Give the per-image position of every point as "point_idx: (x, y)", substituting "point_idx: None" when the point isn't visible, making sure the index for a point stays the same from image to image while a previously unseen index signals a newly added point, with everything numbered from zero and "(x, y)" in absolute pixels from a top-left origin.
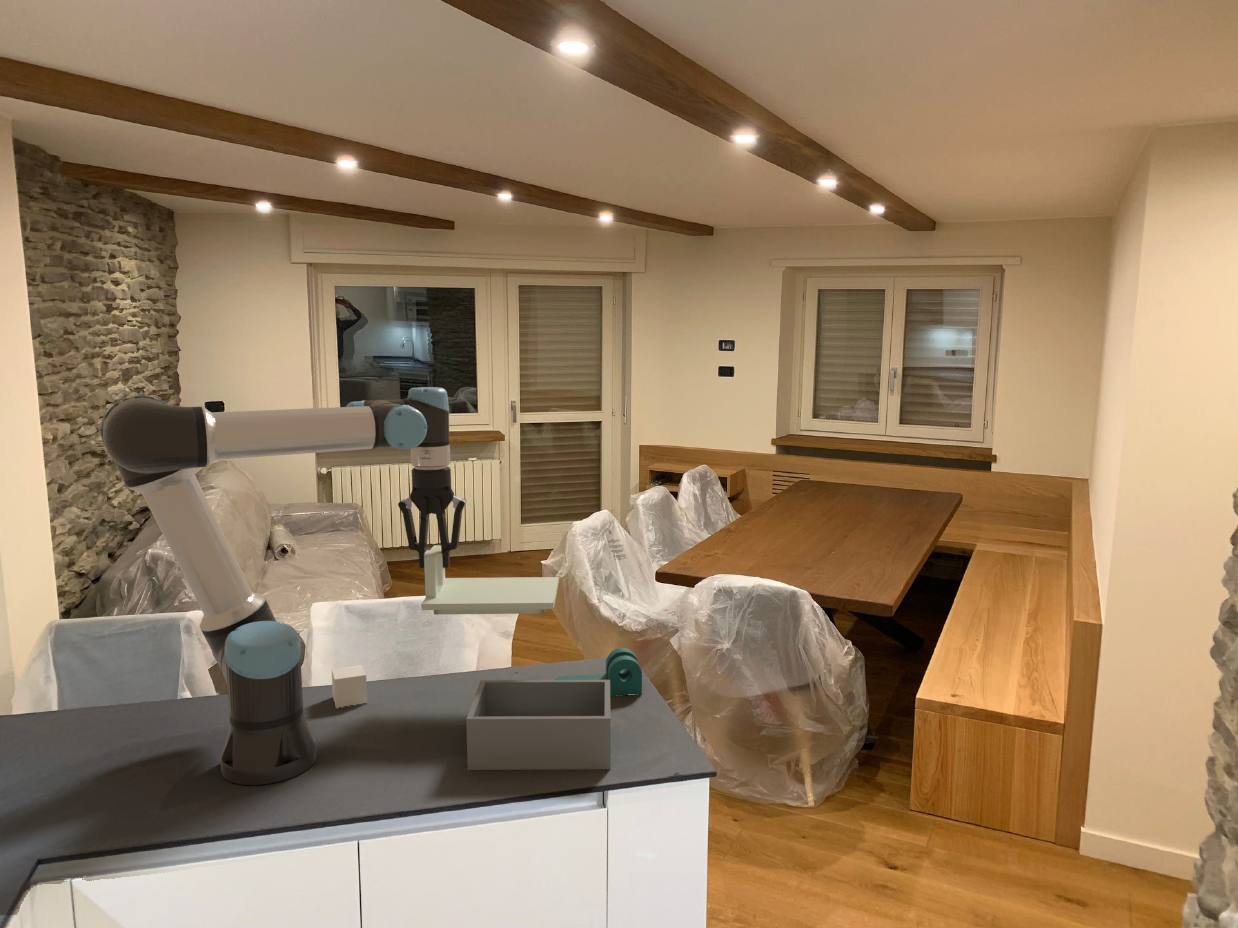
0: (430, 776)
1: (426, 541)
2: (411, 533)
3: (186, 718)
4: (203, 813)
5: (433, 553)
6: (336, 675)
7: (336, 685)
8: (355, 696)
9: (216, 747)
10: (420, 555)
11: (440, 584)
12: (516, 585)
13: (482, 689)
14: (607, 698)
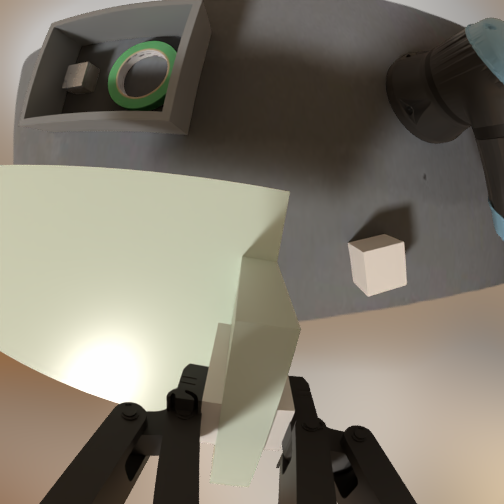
0: (253, 24)
1: (283, 475)
2: (380, 490)
3: (496, 237)
4: (440, 37)
5: (245, 400)
6: (401, 257)
7: (397, 240)
8: (366, 241)
9: (472, 157)
10: (309, 413)
11: (226, 325)
12: (43, 322)
13: (169, 83)
14: (35, 69)
